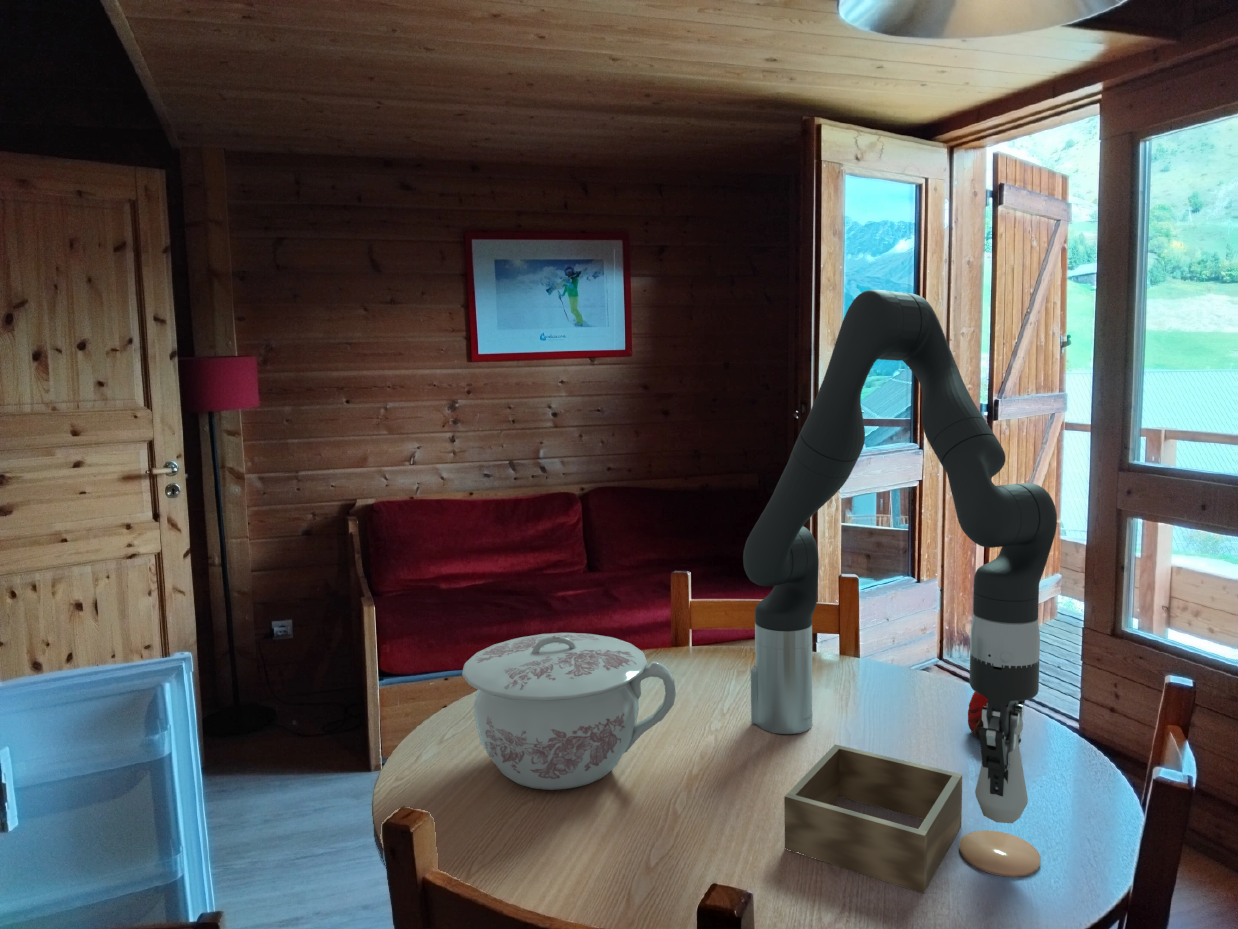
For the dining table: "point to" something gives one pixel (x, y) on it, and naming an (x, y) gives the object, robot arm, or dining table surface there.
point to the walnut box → (867, 838)
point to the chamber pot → (561, 705)
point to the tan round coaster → (1000, 853)
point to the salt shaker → (1004, 790)
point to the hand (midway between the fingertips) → (1001, 790)
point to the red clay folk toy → (976, 713)
